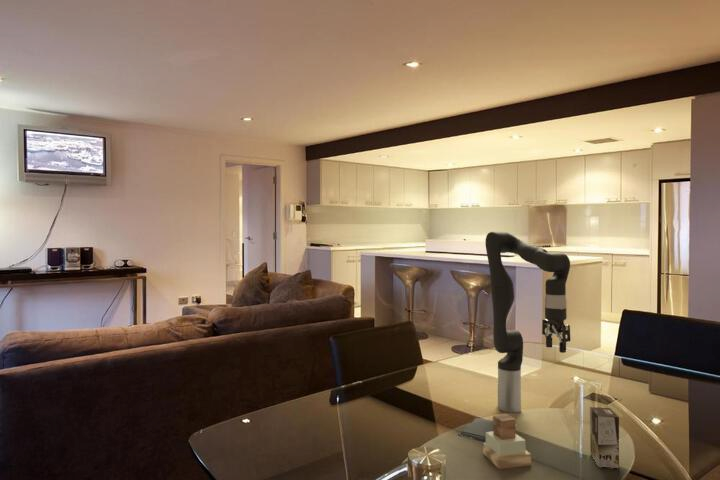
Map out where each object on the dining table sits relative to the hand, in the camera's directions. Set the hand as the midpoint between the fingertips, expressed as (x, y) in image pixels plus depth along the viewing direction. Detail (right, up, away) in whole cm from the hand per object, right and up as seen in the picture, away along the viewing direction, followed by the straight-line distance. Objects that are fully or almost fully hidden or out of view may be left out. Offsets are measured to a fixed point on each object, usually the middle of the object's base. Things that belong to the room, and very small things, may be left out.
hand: (555, 349), depth 178 cm
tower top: (-26, -27, -24) cm, 44 cm away
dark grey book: (-27, -31, 0) cm, 41 cm away
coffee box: (+5, -30, -26) cm, 40 cm away
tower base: (-26, -31, -23) cm, 46 cm away
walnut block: (-26, -23, -23) cm, 42 cm away
